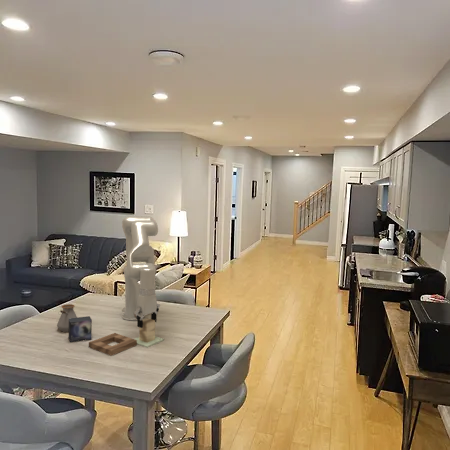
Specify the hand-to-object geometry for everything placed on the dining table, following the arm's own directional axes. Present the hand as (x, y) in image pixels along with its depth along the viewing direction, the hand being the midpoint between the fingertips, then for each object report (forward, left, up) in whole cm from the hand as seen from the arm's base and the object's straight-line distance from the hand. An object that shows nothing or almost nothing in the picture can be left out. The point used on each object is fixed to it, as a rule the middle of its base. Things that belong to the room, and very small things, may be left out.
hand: (147, 324), depth 207 cm
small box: (-27, -19, -9) cm, 35 cm away
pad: (+1, 0, -8) cm, 8 cm away
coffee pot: (-40, -18, -9) cm, 45 cm away
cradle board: (-7, -15, -8) cm, 19 cm away
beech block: (0, 0, -8) cm, 8 cm away
